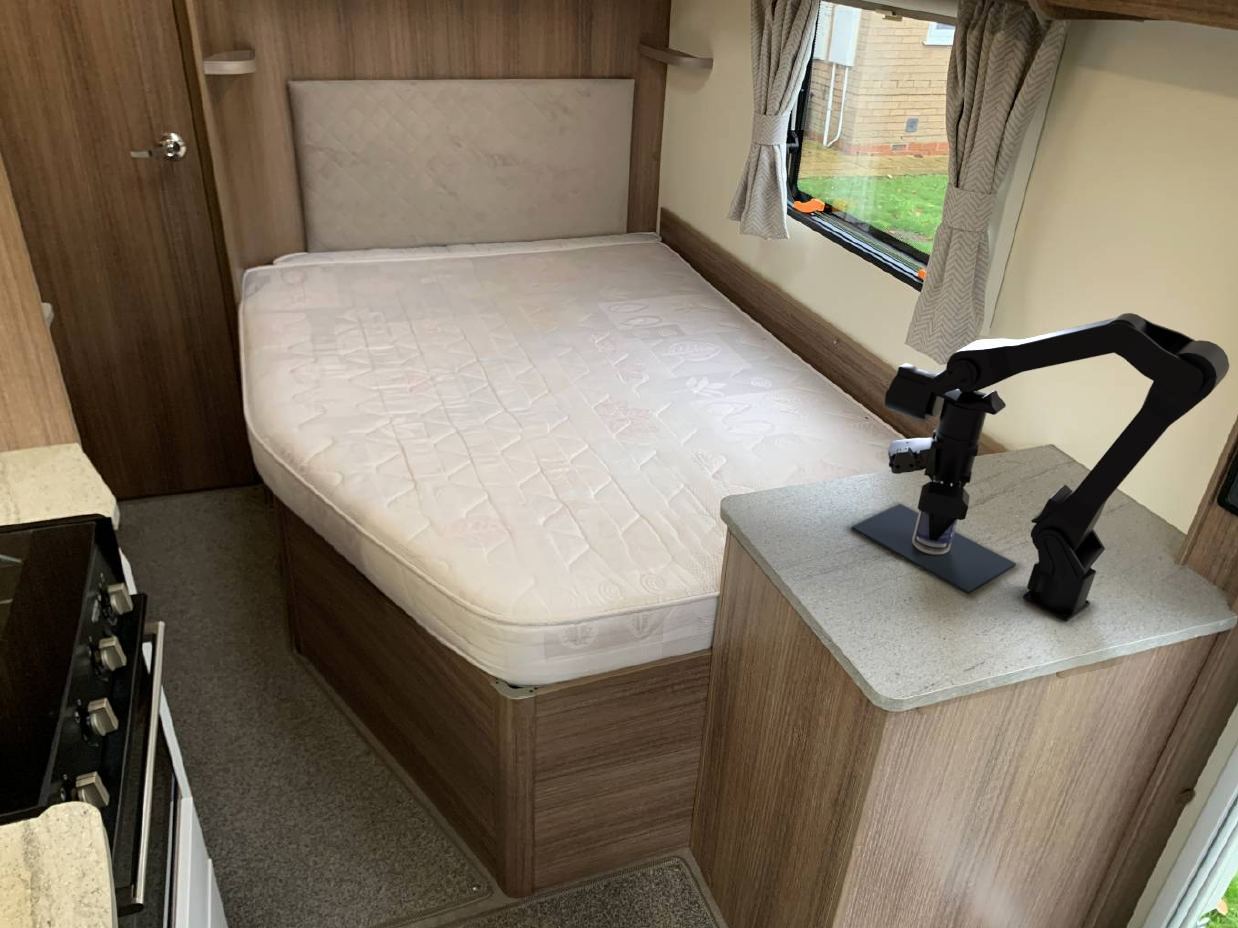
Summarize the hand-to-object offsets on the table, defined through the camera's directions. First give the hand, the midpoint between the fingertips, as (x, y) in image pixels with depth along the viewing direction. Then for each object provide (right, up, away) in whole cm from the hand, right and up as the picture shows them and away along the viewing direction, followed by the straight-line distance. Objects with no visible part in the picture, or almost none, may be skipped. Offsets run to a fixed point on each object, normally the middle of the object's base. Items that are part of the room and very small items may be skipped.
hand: (934, 528), depth 137 cm
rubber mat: (0, -3, +2) cm, 3 cm away
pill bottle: (0, -3, +1) cm, 3 cm away
